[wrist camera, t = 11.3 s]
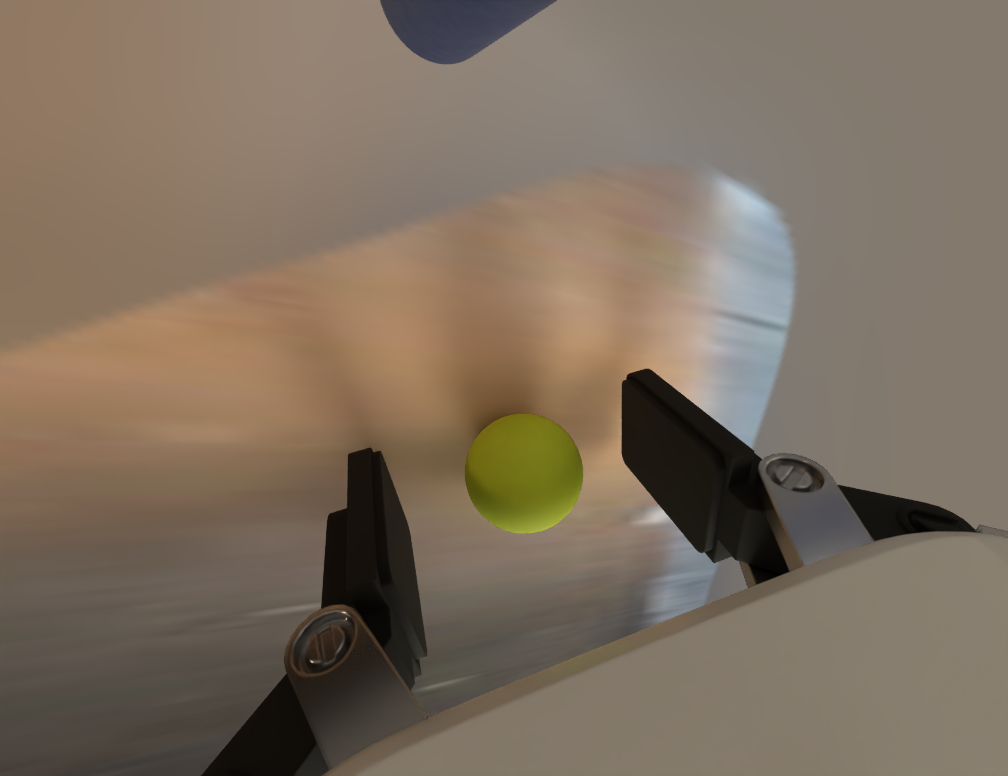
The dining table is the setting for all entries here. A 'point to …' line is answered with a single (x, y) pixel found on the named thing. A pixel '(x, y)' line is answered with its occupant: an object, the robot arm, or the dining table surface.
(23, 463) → the dining table surface
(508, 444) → the ball
